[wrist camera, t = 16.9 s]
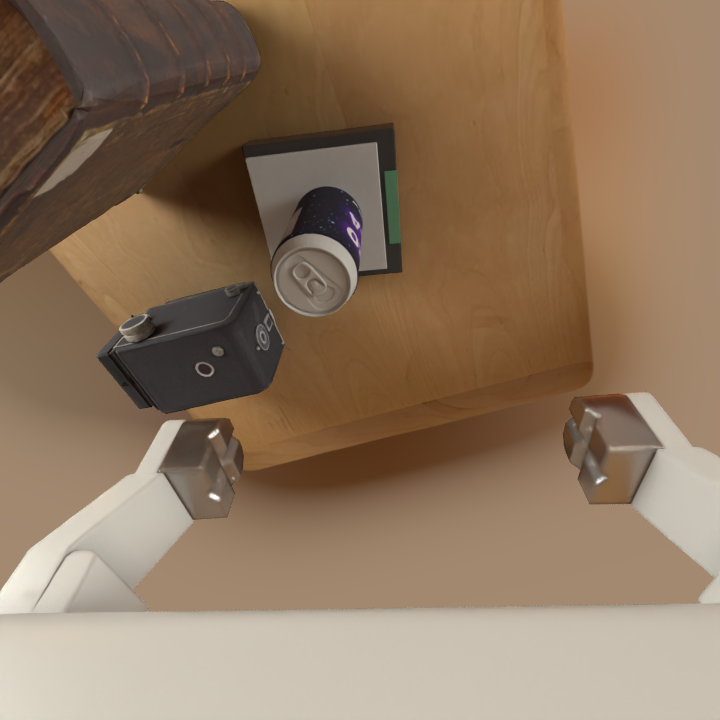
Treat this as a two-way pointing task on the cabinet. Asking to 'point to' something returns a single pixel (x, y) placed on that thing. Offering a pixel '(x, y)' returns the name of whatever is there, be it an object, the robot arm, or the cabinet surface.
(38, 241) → the book
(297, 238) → the beverage can
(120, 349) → the camera
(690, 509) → the robot arm
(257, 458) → the cabinet surface
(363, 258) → the scale
